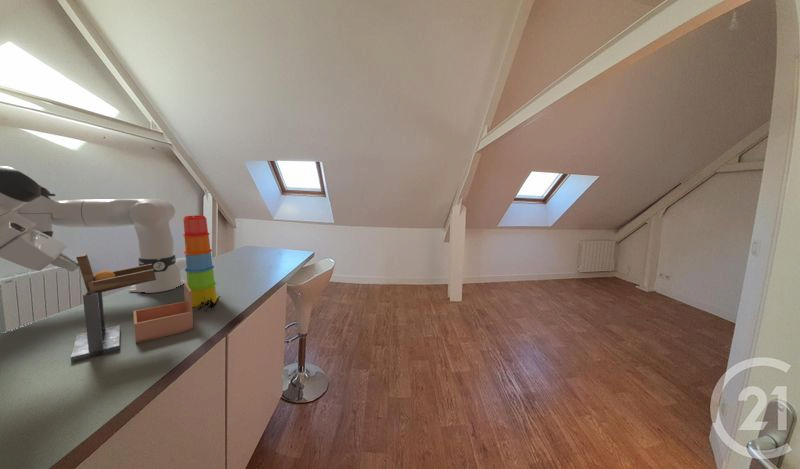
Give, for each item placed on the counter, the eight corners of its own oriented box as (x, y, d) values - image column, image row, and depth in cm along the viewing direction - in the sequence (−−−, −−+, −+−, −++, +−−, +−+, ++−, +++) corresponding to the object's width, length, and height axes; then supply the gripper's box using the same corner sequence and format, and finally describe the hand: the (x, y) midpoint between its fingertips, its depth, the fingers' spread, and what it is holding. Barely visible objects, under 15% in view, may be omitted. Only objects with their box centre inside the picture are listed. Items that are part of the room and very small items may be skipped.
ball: (95, 283, 74) (93, 270, 74) (116, 281, 77) (114, 267, 77) (94, 288, 71) (92, 273, 71) (115, 285, 74) (114, 271, 74)
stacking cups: (218, 304, 105) (215, 217, 101) (185, 309, 100) (180, 216, 95) (218, 295, 114) (215, 214, 109) (187, 299, 108) (183, 214, 103)
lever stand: (78, 338, 77) (71, 282, 75) (120, 329, 83) (115, 277, 81) (71, 362, 67) (63, 298, 65) (119, 350, 73) (114, 291, 71)
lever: (90, 288, 76) (78, 252, 73) (154, 274, 85) (146, 242, 83) (87, 300, 69) (73, 260, 66) (157, 283, 78) (148, 248, 76)
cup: (134, 328, 84) (131, 289, 82) (187, 317, 94) (185, 281, 92) (135, 343, 76) (132, 300, 75) (193, 329, 86) (191, 291, 84)
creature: (189, 314, 98) (206, 313, 96) (186, 300, 97) (203, 299, 95) (209, 306, 105) (225, 305, 103) (206, 293, 105) (222, 292, 103)
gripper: (4, 236, 67) (69, 268, 76) (-27, 251, 53) (57, 288, 62) (32, 219, 70) (92, 251, 78) (9, 228, 56) (84, 267, 64)
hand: (76, 268), depth 70 cm, fingers closed, pressing on lever
